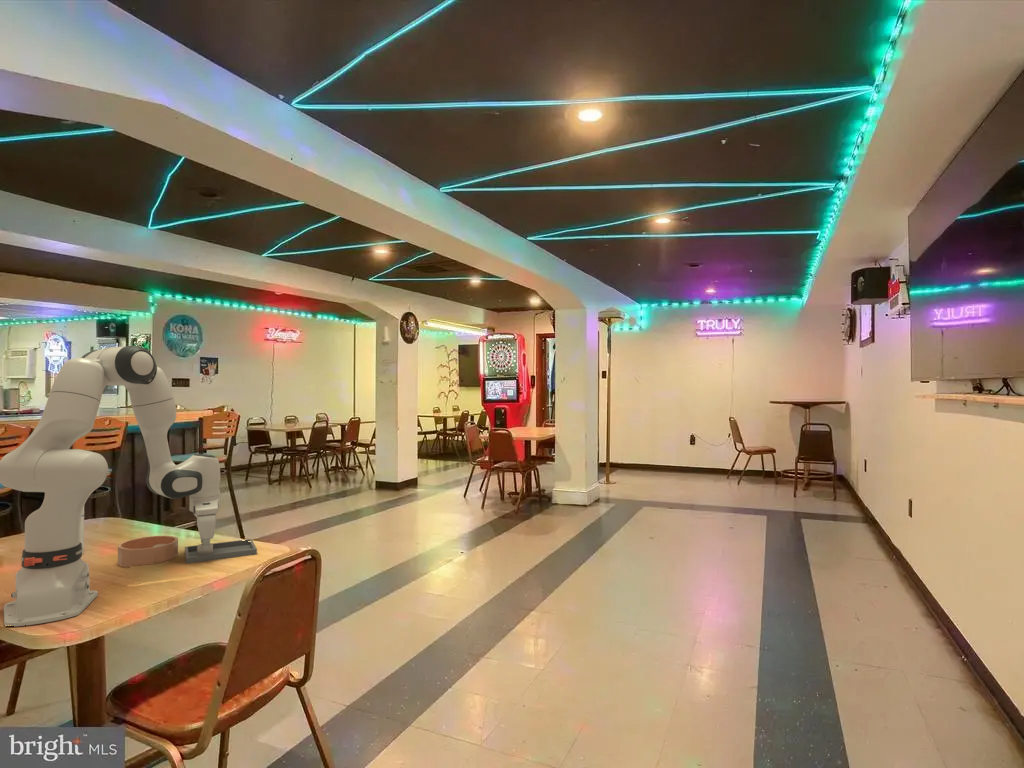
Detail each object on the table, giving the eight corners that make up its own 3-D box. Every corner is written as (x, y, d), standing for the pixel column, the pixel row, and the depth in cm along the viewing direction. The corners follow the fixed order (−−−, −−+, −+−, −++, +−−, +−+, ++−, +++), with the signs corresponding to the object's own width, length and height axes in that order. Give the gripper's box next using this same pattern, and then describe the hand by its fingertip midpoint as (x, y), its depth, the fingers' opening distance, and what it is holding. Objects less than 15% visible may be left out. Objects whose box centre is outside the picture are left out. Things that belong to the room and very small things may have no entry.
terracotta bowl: (178, 562, 181) (178, 545, 181) (116, 570, 172) (116, 552, 172) (177, 549, 194) (177, 533, 194) (119, 556, 186) (120, 539, 186)
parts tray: (256, 556, 188) (256, 548, 188) (185, 566, 177) (185, 557, 177) (251, 546, 200) (251, 538, 200) (184, 554, 189) (184, 546, 189)
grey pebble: (213, 555, 185) (213, 545, 185) (197, 557, 183) (197, 547, 183) (212, 552, 189) (212, 542, 189) (196, 554, 187) (196, 544, 187)
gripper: (192, 499, 194) (192, 540, 194) (195, 511, 176) (195, 556, 177) (213, 497, 197) (213, 537, 197) (218, 509, 180) (218, 553, 180)
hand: (205, 546), depth 187 cm, fingers open, 8 cm apart
